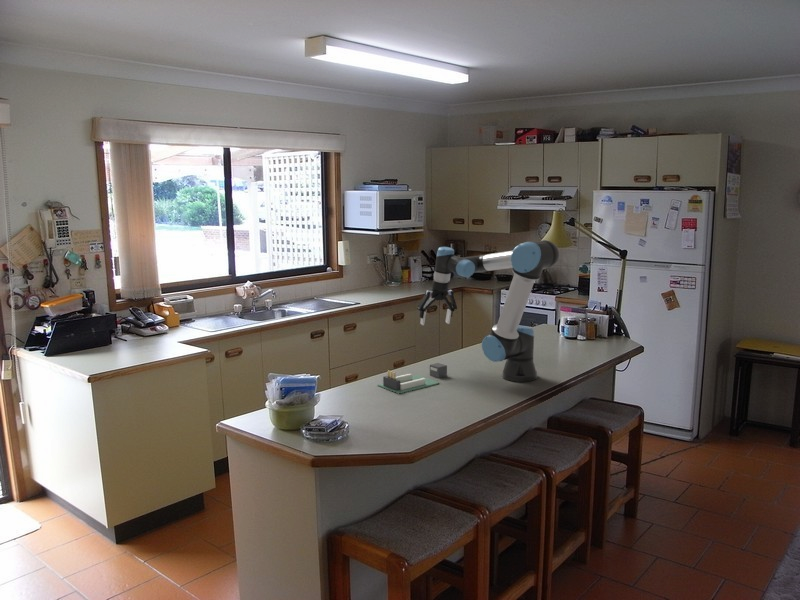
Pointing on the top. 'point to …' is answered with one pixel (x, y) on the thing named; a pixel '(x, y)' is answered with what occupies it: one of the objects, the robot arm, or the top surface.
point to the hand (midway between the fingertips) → (434, 323)
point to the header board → (427, 383)
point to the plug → (438, 370)
